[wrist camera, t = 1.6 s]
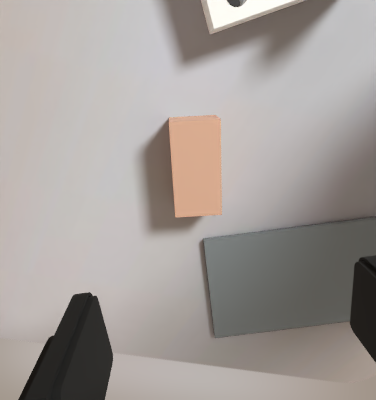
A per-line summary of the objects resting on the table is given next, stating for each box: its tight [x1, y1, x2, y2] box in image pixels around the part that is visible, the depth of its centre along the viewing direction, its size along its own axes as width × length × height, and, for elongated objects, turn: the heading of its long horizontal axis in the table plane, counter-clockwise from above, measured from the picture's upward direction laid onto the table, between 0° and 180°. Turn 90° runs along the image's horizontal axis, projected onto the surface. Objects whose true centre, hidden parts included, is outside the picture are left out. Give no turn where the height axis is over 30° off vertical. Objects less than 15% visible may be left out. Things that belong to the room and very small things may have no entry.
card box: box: [169, 115, 222, 218], centre depth 30 cm, size 4×9×4 cm, turn 3°
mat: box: [203, 217, 376, 338], centre depth 37 cm, size 20×14×1 cm
